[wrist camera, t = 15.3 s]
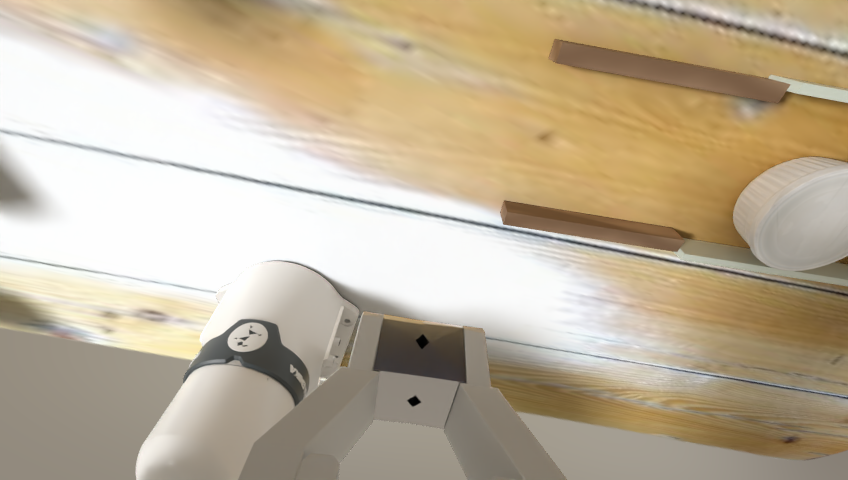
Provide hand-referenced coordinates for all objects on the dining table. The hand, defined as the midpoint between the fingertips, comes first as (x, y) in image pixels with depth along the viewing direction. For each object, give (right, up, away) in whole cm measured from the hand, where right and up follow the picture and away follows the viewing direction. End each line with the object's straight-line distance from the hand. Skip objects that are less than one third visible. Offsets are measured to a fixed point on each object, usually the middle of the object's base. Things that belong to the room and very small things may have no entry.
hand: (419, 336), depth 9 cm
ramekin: (+37, +7, +29) cm, 47 cm away
